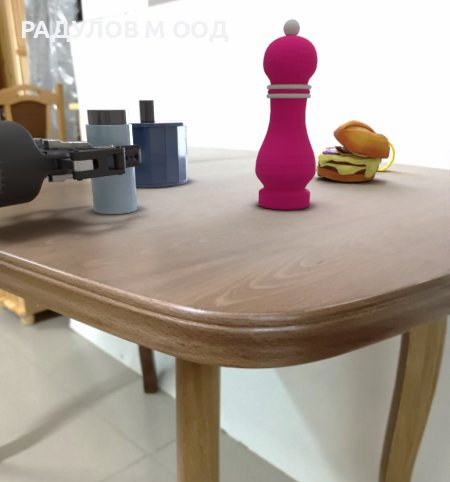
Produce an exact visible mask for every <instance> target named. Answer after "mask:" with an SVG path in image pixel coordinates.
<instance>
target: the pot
mask: <svg viewBox="0 0 450 482" xmlns="http://www.w3.org/2000/svg"><path fill="white" fill-rule="evenodd" d="M187 127H188V125H187V126H172V127H132V135H133V145H139V146H140V147H141V157H142V163H141V165H140V166H136V167H135V179H136V189H138V188H139V189H149V188H150V189H156V188H169V187H170V188H171V187H175V186H181V185H185V184H187V183H188V180H189V179H188V178H189V166H188V165H189V164H188V131H187Z"/></svg>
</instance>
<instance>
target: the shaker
mask: <svg viewBox="0 0 450 482" xmlns="http://www.w3.org/2000/svg"><path fill="white" fill-rule="evenodd" d="M86 117H87V123H86V124H85V126H84V127H85V133H86V141H88V142H90V143H91V144H92V146H108V145H113V146H122V145H133V135H132V124H129V120H130V118H129V109H127V108H126V109H125V108H100V109H99V108H98V109H97V108H92V109H90V108H89V109H86ZM90 184H91V194H92V195H91V196H92V201H93V202H92V204H93V211H94V212H95V213H96V214H100V215H101V214H102V215H123V214H128V213H129V214H130V213H134V212H137V210H138V197H137V188H136V179H135V167H129V168H126V173H125V174H123V175H112V176H104V177H97V178H90Z"/></svg>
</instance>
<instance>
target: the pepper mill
mask: <svg viewBox="0 0 450 482" xmlns="http://www.w3.org/2000/svg"><path fill="white" fill-rule="evenodd" d="M282 30H283V33H284V35H282V36H280V37H277V38H275V39H274V40H272V41H271V42H270V43H269V44H268V45H267V47H266V49H265V51H264V54H263V59H262V69H263V72H264V74H265V76H266V77H267V78H268V81H269V83H270V84H268V85H267V86H266V89H267V94H266V98H267V99H269V119H268V126H267V130H266V133H265V135H264V138H263V141H262V143H261V144H260V147H259V150H258V152H257V156H256V158H255V167H254V171H255V175H256V178H257V180H259V182H260V183H261V184H262V187H261V188H260V189H259V190H258V199H257V204H258V206H260V207H261V208H265V209H269V210H279V211H291V210H292V211H295V210H302V209H306V208H308V207H309V206H310V201H311V191H310V190H309V189H308V188H307V186H308V185H309V183H310V182H311V181H312V180H313V178H314V177H315V176H316V174H317V171H316V167H317V161H316V157H315V151H314V149H313V146H312V143H311V140H310V138H309V137H310V136H309V133H308V128H307V122H306V121H307V120H306V117H307V115H306V114H307V113H306V112H307V105H308V104H307V103H308V99H310V98H312V94H311V89H312V85H311V84H309V82H310V81H311V78H312V77H313V76H314V75H315V73H316V72H317V68H318V59H319V58H318V53H317V50H316V47H315V45H314V44H313V42H311V41H310V40H309V39H308V38H306V37H303V36H300V35H299V33H300V31H301V25H300V23H299V21H298V20H296V19H294V18H290V19H288V20H287V21H285V23H284V24H283V29H282Z"/></svg>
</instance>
